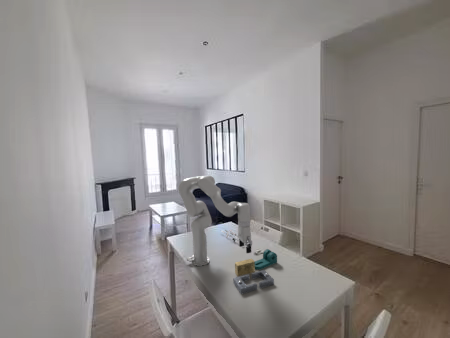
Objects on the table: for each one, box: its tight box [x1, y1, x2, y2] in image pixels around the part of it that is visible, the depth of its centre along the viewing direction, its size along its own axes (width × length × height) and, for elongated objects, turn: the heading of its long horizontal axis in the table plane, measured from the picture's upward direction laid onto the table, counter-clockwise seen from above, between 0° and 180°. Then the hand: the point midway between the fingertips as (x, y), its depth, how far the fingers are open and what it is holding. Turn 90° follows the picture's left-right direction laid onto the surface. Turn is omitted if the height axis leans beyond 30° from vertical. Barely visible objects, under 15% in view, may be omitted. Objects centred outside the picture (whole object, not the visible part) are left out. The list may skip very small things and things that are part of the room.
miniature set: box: [220, 229, 248, 246], centre depth 182 cm, size 6×35×12 cm
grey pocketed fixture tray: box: [232, 269, 275, 295], centre depth 120 cm, size 21×10×4 cm, turn 111°
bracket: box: [254, 248, 278, 271], centre depth 139 cm, size 18×7×8 cm, turn 121°
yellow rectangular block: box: [234, 258, 256, 277], centre depth 131 cm, size 12×4×7 cm, turn 111°
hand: (245, 249), depth 130 cm, fingers open, 9 cm apart
